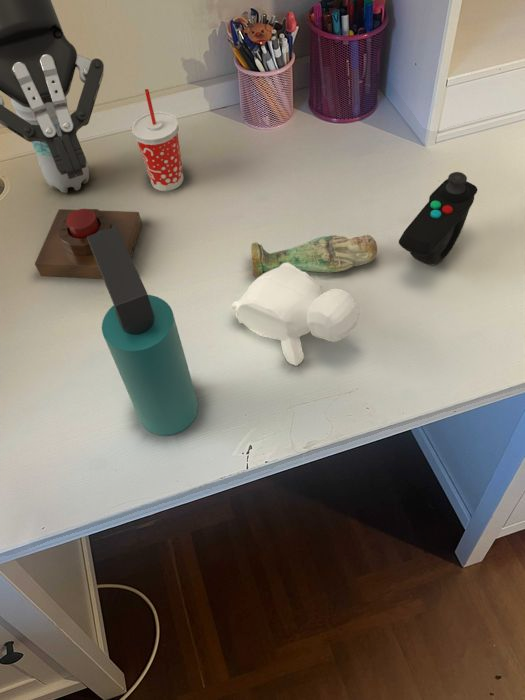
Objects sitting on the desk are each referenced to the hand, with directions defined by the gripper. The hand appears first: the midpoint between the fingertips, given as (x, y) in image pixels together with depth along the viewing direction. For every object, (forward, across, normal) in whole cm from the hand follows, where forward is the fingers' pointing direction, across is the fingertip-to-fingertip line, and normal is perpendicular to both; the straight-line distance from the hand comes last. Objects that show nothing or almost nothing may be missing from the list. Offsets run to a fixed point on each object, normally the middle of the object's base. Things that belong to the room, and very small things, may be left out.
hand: (76, 175), depth 64 cm
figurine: (+17, +23, +11) cm, 31 cm away
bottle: (-4, 0, +32) cm, 33 cm away
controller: (+21, +36, +7) cm, 43 cm away
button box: (+6, -1, +22) cm, 23 cm away
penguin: (+23, +17, +5) cm, 29 cm away
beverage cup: (0, +12, +28) cm, 30 cm away
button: (+3, -1, +19) cm, 20 cm away
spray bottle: (+24, 0, +4) cm, 24 cm away
